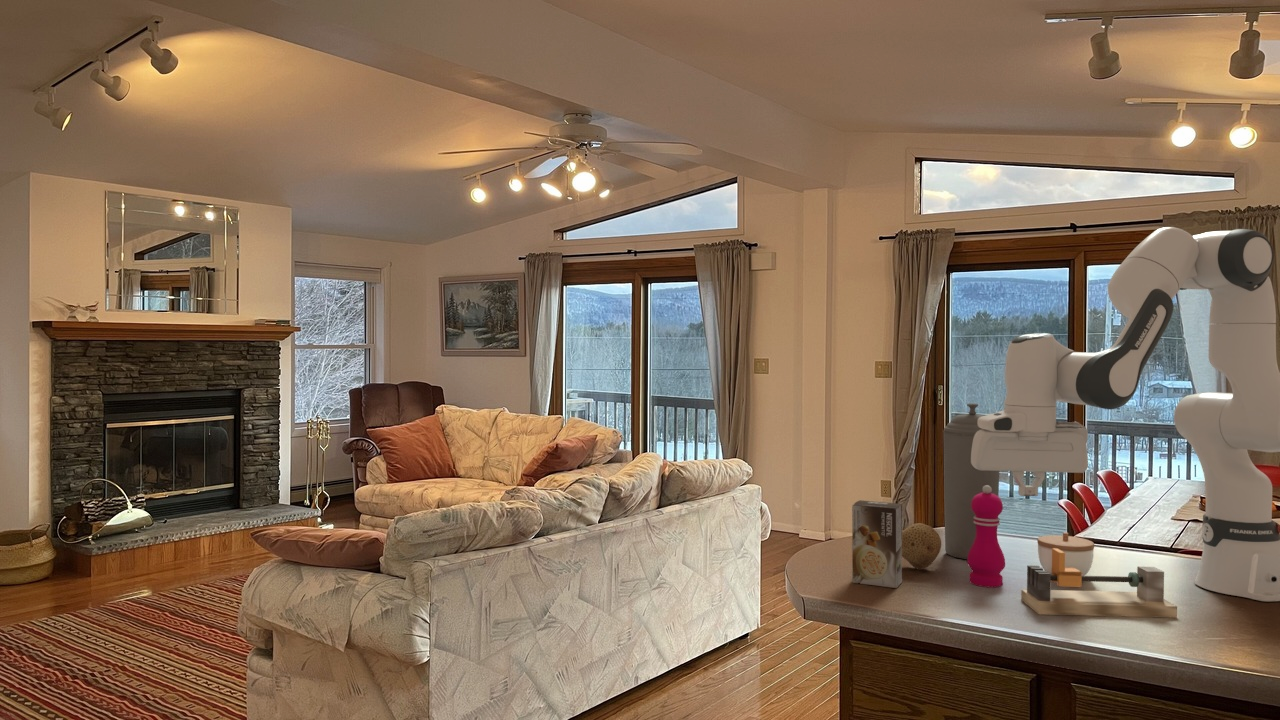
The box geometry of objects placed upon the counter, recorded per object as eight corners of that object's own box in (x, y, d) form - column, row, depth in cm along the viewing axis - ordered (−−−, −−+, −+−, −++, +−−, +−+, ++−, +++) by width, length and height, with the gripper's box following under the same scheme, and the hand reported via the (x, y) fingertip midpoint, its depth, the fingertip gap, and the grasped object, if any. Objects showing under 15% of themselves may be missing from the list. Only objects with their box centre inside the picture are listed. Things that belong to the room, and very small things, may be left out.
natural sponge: (936, 577, 187) (936, 529, 187) (892, 571, 191) (893, 525, 191) (944, 567, 195) (944, 521, 195) (902, 562, 199) (903, 517, 199)
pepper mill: (1008, 589, 178) (1009, 488, 178) (969, 586, 180) (971, 487, 179) (1001, 579, 185) (1002, 483, 185) (964, 577, 187) (965, 481, 186)
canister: (929, 551, 210) (931, 401, 210) (975, 547, 214) (977, 401, 213) (964, 564, 198) (966, 405, 197) (1012, 560, 202) (1014, 404, 201)
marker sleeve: (1073, 581, 167) (1074, 548, 167) (1081, 586, 164) (1081, 553, 164) (1051, 581, 168) (1052, 548, 168) (1058, 586, 164) (1059, 552, 164)
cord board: (1151, 602, 169) (1152, 563, 169) (1177, 617, 160) (1177, 575, 160) (1021, 599, 171) (1021, 560, 171) (1039, 614, 162) (1039, 572, 162)
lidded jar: (1053, 568, 195) (1054, 525, 195) (1103, 579, 186) (1104, 534, 186) (1026, 575, 188) (1027, 531, 188) (1076, 587, 180) (1077, 540, 180)
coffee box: (903, 581, 184) (904, 503, 183) (896, 589, 178) (897, 508, 178) (858, 575, 188) (859, 499, 188) (850, 583, 182) (851, 504, 182)
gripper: (1080, 420, 168) (1078, 494, 168) (968, 418, 169) (967, 491, 170) (1095, 423, 162) (1093, 500, 162) (979, 421, 163) (977, 497, 163)
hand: (1028, 495), depth 166 cm, fingers closed
